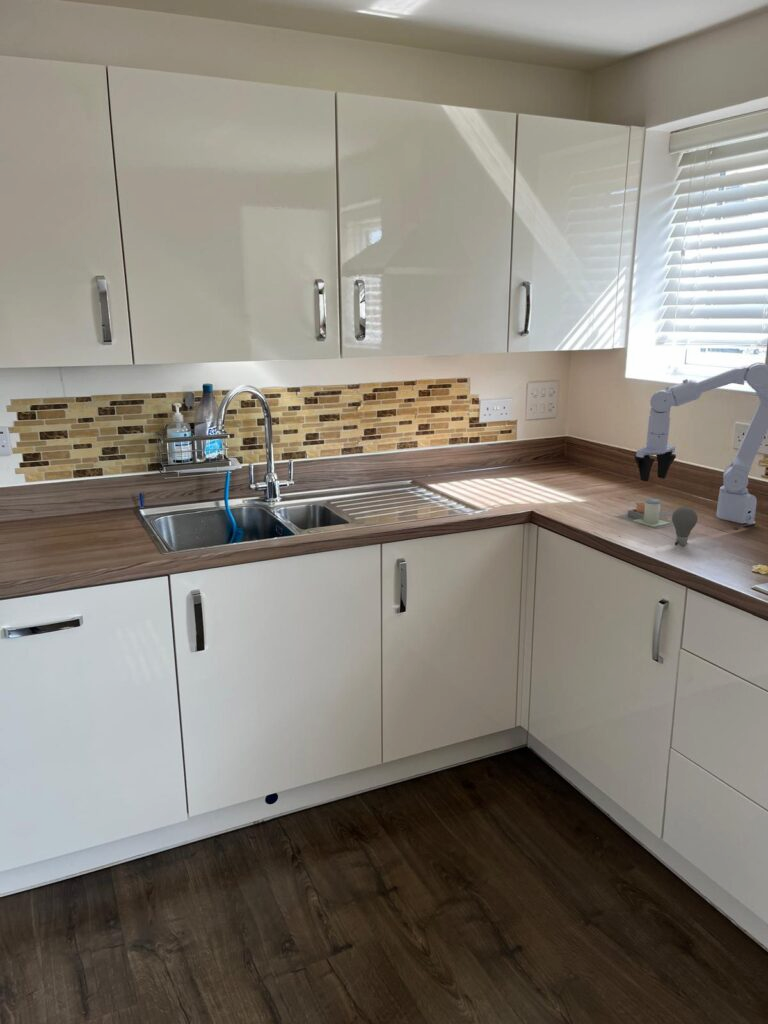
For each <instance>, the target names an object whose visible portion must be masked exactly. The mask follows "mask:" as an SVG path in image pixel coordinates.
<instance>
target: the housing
mask: <svg viewBox="0 0 768 1024" xmlns="http://www.w3.org/2000/svg"><path fill="white" fill-rule="evenodd" d="M673 513H674V512H673ZM673 513H672V512H669V511H664V510H661V509H660V514H659V522H658V523H646V522H644V521H643V519H644V514H642V513H638V512H636V508H634V509H633V508H631V509H628V510H627V513H626V514H621V515H617V516H615V517H616V518H619V519H621V520H625V521H628V522H633V523H635V524H638V525H641V526H644V527H645V526H646V527H648V528H653V529H655V530H658V529H663V528H667V527H673V526H674V524H673V522H672V519H671V520H670V519H668V518H667V519H666V518H664V517H665V516H668V515H669V516H670V515H671V516H672V515H673Z"/></svg>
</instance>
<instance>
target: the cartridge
mask: <svg viewBox="0 0 768 1024" xmlns="http://www.w3.org/2000/svg"><path fill="white" fill-rule="evenodd" d="M644 503H645V509H644V519H643V521H644V522H646V523H658V522H659V514H660V510H661V503H662V502H661V499H659V498H652V497H651V498H650V497H649V498H645V501H644Z"/></svg>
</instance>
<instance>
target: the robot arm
mask: <svg viewBox="0 0 768 1024" xmlns="http://www.w3.org/2000/svg"><path fill="white" fill-rule="evenodd" d="M745 382H746V383H747V384H748V385H749V387H750V388H751V389H752V390H754V391H755V393H756V396H757V397H758V399H759V402H758V406H757V408H756V410H755V412H754V414H753V416H752V419H751V421H750V423H749V425H748V428H747V430H746V432H745V434H744V437H743V439H742V441H741V443H740V446H739V448H738V450H737V452H736V455H734V458H733V459H732V461H731V463H730V465H728V466H727V467H725V469H724V471H723V474H722V478H723V479H722V483H723V485H722V486H720V487H719V494H718V499H717V500H718V501H717V507H716V508H717V509H716V515H715V517H716V518H717V519H721V520H723V521H724V520H725V521H729V522H730V521H731V522H733V523H738V524H745V525H740V526H739V528H742V527H746V526H750V525H754V524H756V521H755V517H756V512H757V511H756V510H757V497H756V496H755V495H753V494H750V492H749V489H748V488H747V487H748V485H749V474H750V472H751V469H752V466H753V462H754V460H755V458H756V455H757V454H758V451H759V449H760V447H761V445H762V443H763V441H764V438H765V436H766V433H767V432H768V365H767V364H766V363H764V362H760V361H759V362H754V363H752V364H750V365H749V364H746V365H742V366H738V367H734V368H731V369H728V370H725V371H723V372H721V373H719V374H716V375H714V376H711V377H708V378H705V379H704V380H700V381H697V380H694V379H688V378H685V379H683V380H682V382H681V383H678V384H675V385H673V386H669V385H668V386H665V387H664V388H665V389H659V390H658V391H655V392H654V394H653V395H652V396H651V398H650V402H649V403H650V406H651V408H650V411H649V414H650V415H648V424H647V434H646V443H645V445H643V446H642V448H640V449H639V448H638V449H637V450H636V455H634V460H635V462H636V464H637V467H638V473H639V478H640V481H642V482H649V479H650V475H651V470H652V467H653V464H654V462H655V461H656V460H657V461H656V462H657V478H660V479H663V480H664V479H666V477H667V474H668V471H669V470H670V468H671V465H672V464H673V462H674V460H675V459H676V458H677V455H676V454H675V453H676V452H675V451H676V445H675V446H674V445H668V443H669V442H668V441H669V435H670V434H669V433H670V425H671V424H670V423H671V417H670V415H671V408H672V407H676V408H677V407H679V406H682V405H685V404H688V403H691V402H693V401H697V400H699V399H700V397H701V395H702V394H703V393H705V392H709V391H711V390H715V389H718V388H721V387H724V386H727V385H730V384H736V385H740V386H741V385H742V386H744V385H745ZM653 456H655V457H656V459H654V458H652V457H653Z"/></svg>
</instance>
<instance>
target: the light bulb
mask: <svg viewBox="0 0 768 1024" xmlns="http://www.w3.org/2000/svg"><path fill="white" fill-rule="evenodd" d="M671 521H672V522H673V524H674V525H673V526H674V528H675V535H676V542H675V543H676V544H677V545H679V546H685V545H687V544H688V539H689V536H690V535H691V531H692V530H693V529H694V528H695V526H696V525H697V522H698V514H697V513H696V511H695V510H694V509H693V508H692V507H689V506H680V507H678V508H677V509H675V510H674V512H673V515H671Z"/></svg>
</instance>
